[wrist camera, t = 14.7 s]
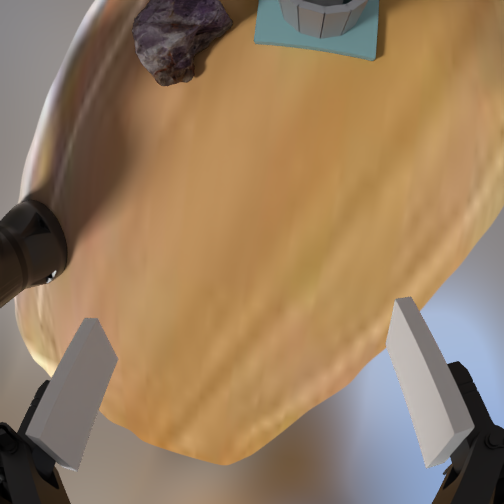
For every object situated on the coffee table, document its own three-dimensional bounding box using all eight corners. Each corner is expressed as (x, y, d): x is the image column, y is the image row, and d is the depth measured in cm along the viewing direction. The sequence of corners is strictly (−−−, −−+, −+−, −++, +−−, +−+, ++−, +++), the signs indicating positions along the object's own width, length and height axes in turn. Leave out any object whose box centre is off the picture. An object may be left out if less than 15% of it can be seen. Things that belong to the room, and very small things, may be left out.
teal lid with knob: (255, 43, 32) (248, 32, 27) (265, -35, 28) (259, -54, 23) (372, 61, 31) (383, 51, 26) (377, -19, 26) (386, -36, 21)
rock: (245, 37, 33) (192, -6, 31) (241, 9, 25) (178, -36, 23) (175, 98, 36) (127, 52, 34) (154, 85, 28) (99, 34, 26)
